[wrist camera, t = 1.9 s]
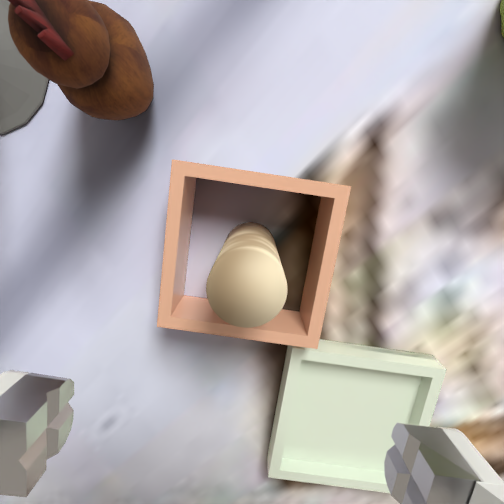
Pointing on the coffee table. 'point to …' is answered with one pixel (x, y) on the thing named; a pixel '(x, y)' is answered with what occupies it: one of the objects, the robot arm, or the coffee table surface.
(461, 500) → the robot arm
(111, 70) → the wooden figurine
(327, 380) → the sage tray
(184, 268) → the frame
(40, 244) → the coffee table surface
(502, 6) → the plant pot
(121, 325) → the coffee table surface
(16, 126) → the cup
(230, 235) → the beech peg
